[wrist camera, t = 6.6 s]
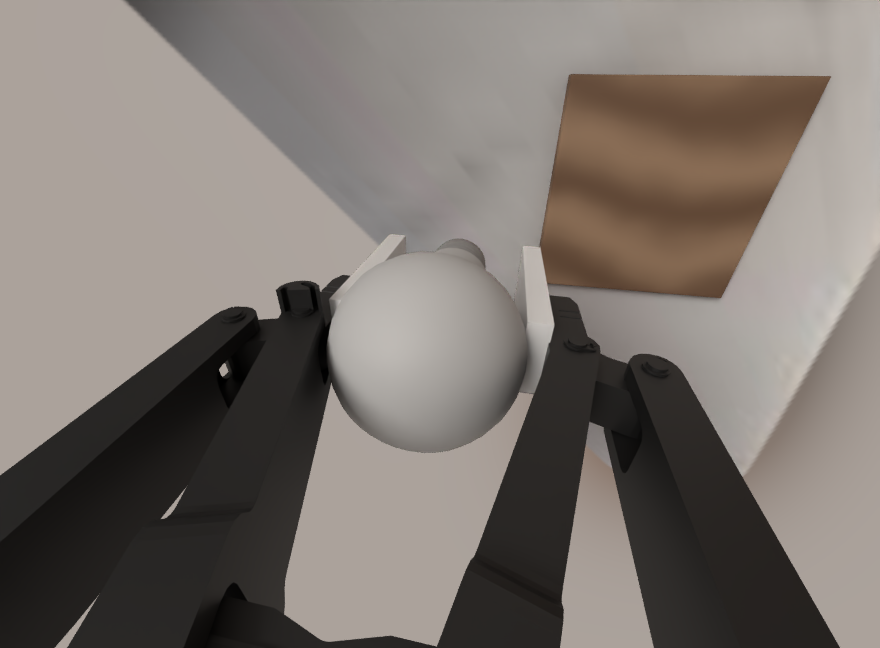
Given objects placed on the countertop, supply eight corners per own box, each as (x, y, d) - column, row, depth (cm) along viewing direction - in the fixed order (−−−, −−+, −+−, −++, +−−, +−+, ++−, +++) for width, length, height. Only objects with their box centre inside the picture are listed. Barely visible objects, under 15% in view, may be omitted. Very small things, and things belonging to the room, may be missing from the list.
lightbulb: (545, 218, 16) (580, 373, 7) (498, 325, 19) (480, 523, 10) (417, 176, 16) (285, 274, 7) (392, 290, 20) (281, 456, 10)
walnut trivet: (568, 75, 26) (571, 74, 25) (817, 77, 24) (831, 76, 23) (534, 276, 34) (535, 282, 33) (714, 291, 32) (720, 297, 31)
